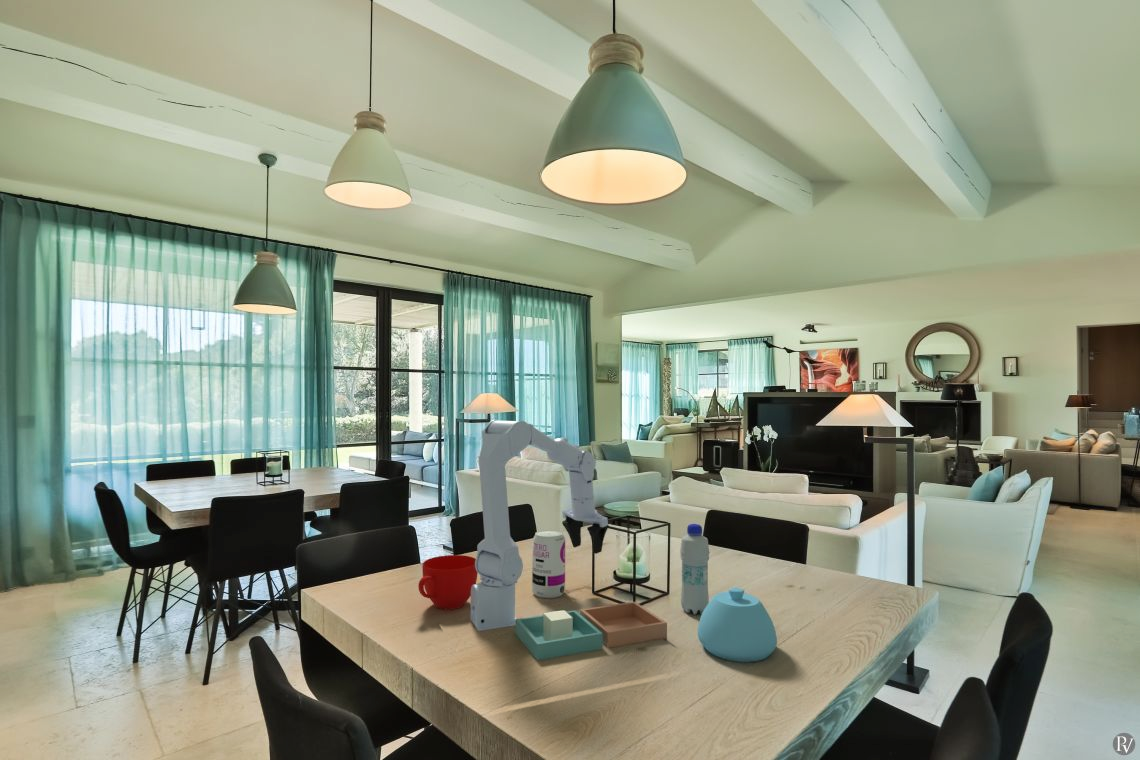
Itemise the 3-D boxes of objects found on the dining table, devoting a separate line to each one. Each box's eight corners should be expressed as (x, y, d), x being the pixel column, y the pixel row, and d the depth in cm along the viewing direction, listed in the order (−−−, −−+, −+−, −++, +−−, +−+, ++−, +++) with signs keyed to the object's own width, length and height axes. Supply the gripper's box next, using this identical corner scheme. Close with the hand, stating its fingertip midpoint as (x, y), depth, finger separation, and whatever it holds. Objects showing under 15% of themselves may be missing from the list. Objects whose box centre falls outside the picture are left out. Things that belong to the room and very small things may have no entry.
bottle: (710, 617, 132) (709, 527, 133) (679, 615, 134) (679, 526, 134) (709, 607, 139) (709, 521, 140) (680, 604, 140) (680, 520, 141)
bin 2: (607, 650, 115) (607, 632, 115) (580, 626, 127) (580, 609, 127) (666, 640, 120) (666, 622, 120) (634, 617, 132) (634, 601, 132)
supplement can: (566, 588, 152) (566, 530, 152) (563, 599, 144) (563, 537, 144) (535, 587, 153) (535, 529, 153) (529, 598, 144) (530, 536, 145)
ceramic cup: (397, 614, 134) (398, 569, 134) (446, 592, 149) (446, 552, 149) (442, 624, 128) (443, 577, 128) (488, 601, 143) (488, 559, 143)
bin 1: (537, 663, 109) (537, 644, 109) (515, 636, 122) (515, 619, 122) (602, 651, 114) (602, 633, 114) (575, 626, 127) (575, 610, 127)
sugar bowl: (760, 632, 124) (760, 577, 125) (789, 665, 109) (789, 602, 110) (689, 633, 124) (689, 577, 124) (709, 666, 109) (709, 602, 109)
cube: (551, 646, 115) (551, 620, 115) (543, 638, 119) (543, 613, 119) (572, 643, 117) (572, 617, 117) (563, 634, 121) (564, 610, 121)
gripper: (614, 497, 147) (618, 550, 148) (574, 489, 158) (578, 539, 159) (594, 504, 142) (599, 559, 143) (554, 496, 153) (559, 547, 154)
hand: (587, 549), depth 151 cm, fingers open, 7 cm apart
